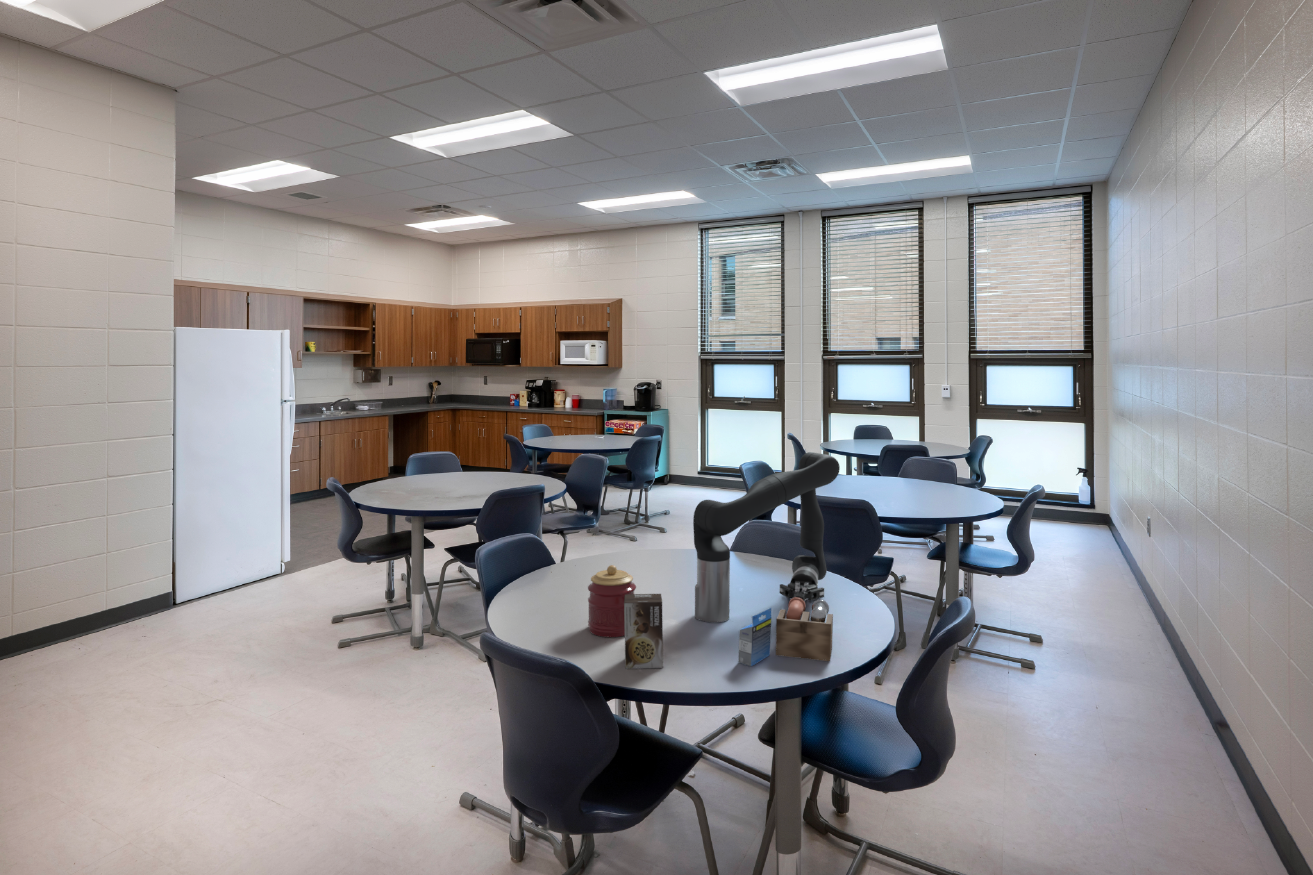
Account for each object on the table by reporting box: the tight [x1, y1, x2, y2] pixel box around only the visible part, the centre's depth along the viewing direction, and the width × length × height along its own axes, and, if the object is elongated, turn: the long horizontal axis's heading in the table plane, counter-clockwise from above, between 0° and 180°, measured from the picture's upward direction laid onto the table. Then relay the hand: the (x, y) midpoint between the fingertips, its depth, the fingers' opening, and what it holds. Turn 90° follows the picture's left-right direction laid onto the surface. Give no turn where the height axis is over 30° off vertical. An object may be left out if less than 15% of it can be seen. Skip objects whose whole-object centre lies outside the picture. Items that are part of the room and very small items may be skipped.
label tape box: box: [737, 607, 772, 667], centre depth 173 cm, size 9×4×12 cm, turn 141°
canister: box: [587, 564, 637, 638], centre depth 193 cm, size 13×13×18 cm
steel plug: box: [810, 598, 830, 623], centre depth 183 cm, size 4×10×4 cm, turn 163°
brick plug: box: [786, 597, 806, 620], centre depth 184 cm, size 4×10×4 cm, turn 163°
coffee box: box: [624, 593, 664, 670], centre depth 171 cm, size 9×6×16 cm
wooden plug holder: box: [775, 609, 834, 662], centre depth 178 cm, size 13×8×9 cm, turn 73°
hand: (798, 600), depth 193 cm, fingers closed
